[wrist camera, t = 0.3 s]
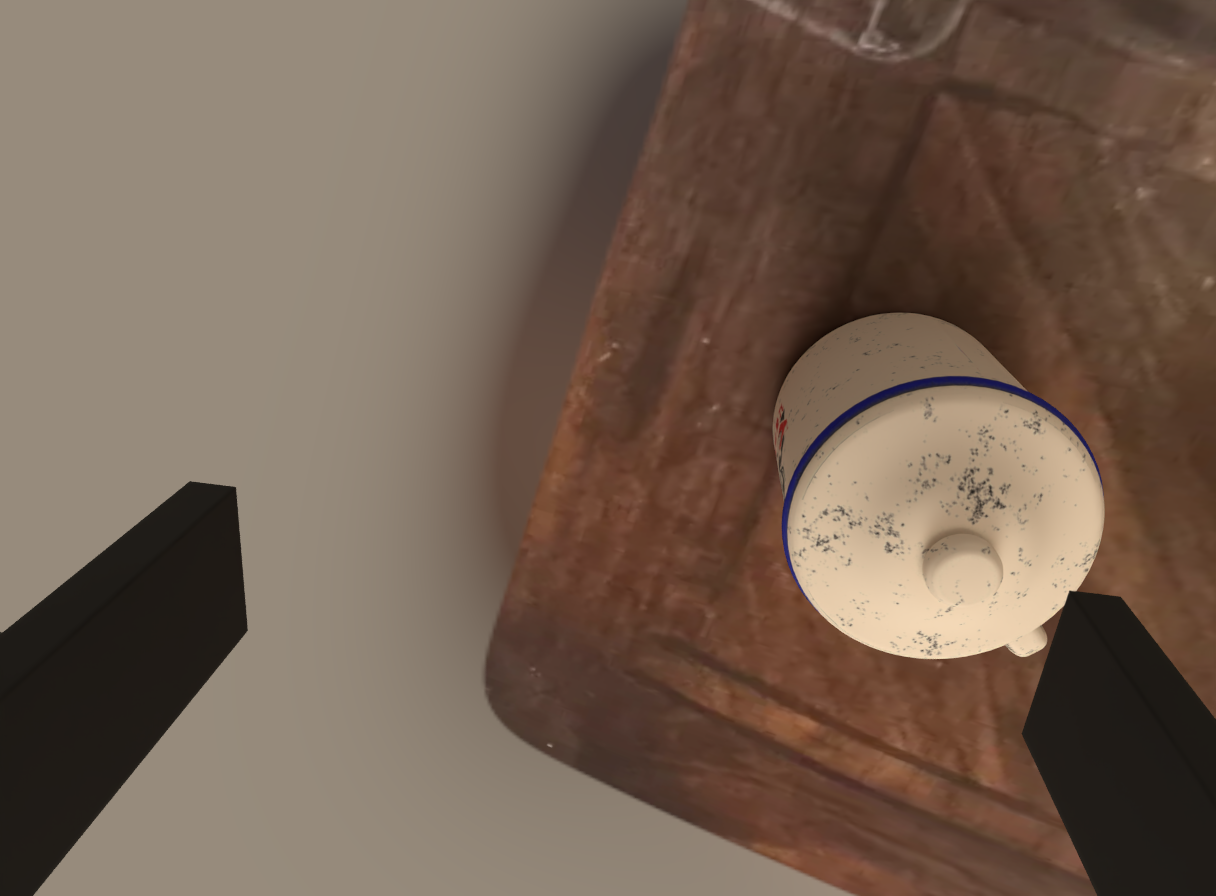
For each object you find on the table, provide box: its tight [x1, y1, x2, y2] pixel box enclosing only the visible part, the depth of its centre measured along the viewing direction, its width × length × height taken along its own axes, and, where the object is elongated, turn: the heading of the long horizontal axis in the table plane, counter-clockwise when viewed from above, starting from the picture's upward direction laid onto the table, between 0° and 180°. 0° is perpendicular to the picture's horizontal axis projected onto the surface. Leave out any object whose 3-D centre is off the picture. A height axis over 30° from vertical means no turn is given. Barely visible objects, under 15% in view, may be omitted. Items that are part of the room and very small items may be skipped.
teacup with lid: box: [773, 313, 1104, 659], centre depth 30 cm, size 12×9×12 cm
